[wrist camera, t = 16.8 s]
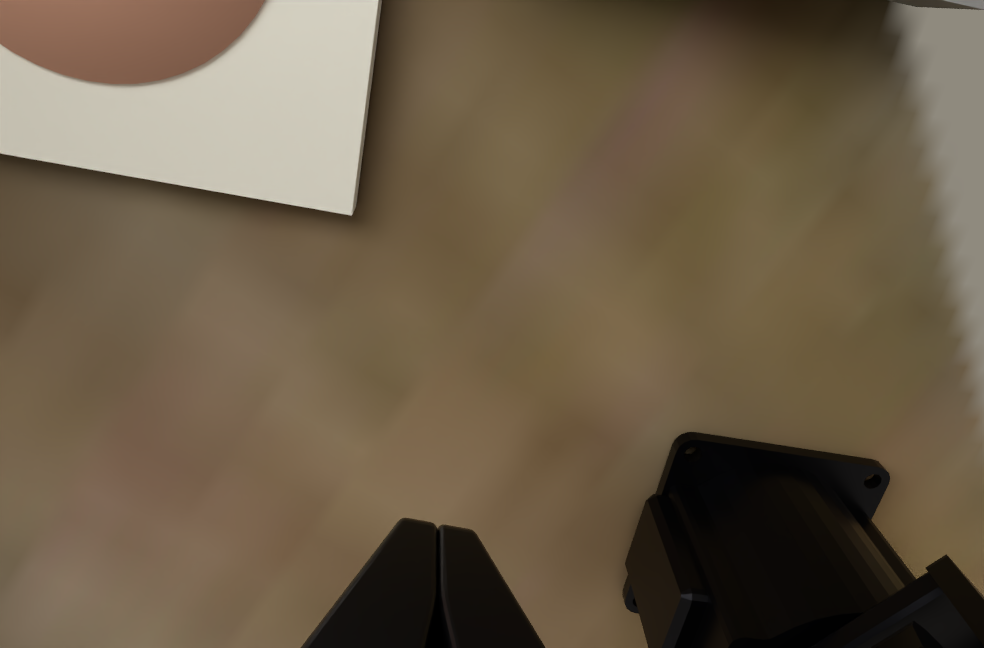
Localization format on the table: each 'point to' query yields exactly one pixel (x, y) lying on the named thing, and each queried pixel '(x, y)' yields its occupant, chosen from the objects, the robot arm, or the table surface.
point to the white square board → (195, 92)
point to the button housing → (945, 3)
